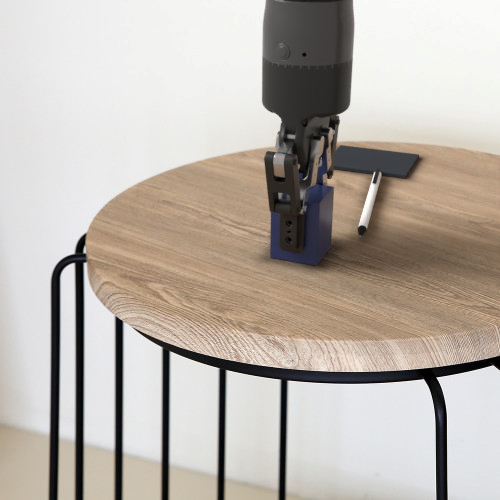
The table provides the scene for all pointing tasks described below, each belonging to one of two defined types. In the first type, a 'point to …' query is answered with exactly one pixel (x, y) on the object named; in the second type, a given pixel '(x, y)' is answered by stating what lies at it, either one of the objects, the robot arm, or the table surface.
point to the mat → (374, 161)
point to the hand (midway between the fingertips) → (301, 238)
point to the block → (308, 228)
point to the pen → (369, 203)
